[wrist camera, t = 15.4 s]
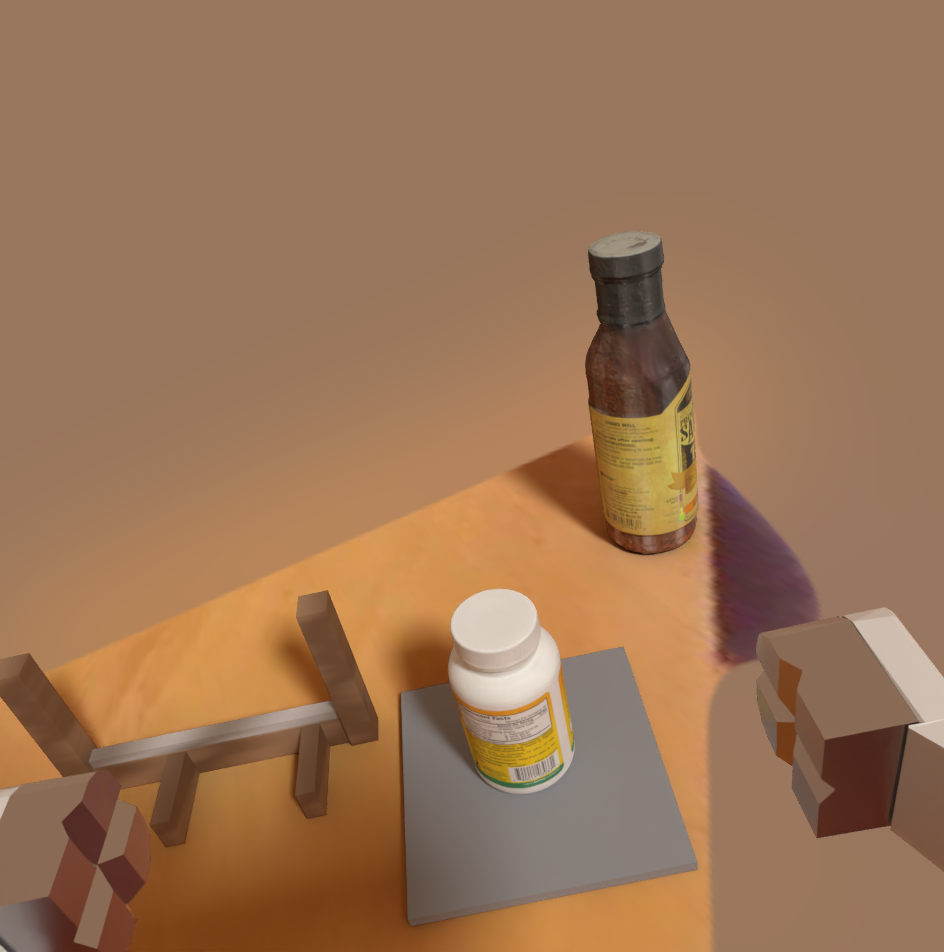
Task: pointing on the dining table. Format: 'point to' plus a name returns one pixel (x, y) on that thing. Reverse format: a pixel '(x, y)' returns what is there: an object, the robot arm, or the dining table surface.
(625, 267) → the sauce bottle
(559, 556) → the dining table surface
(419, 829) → the grey mat
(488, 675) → the supplement bottle
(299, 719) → the dispenser cradle
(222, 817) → the dining table surface
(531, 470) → the dining table surface
